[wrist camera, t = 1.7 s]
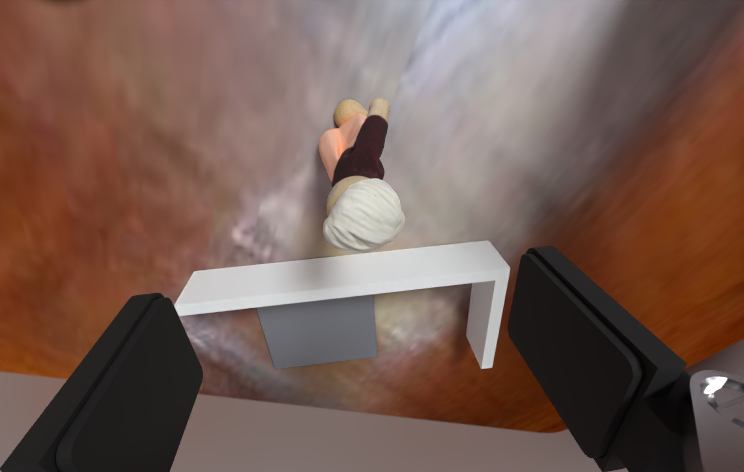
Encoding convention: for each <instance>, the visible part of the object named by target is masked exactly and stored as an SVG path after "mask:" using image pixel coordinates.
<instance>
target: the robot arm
mask: <svg viewBox="0 0 744 472" xmlns="http://www.w3.org/2000/svg"><path fill="white" fill-rule="evenodd" d="M508 332H509V336H510V338H511V340H512V341H513V343H514V344H515V346H516V348H517V349H518V351H519V352H520V354H521V355H522V357H523V359H524V360H525V362H526V363H527V365H528V366H529V368H530V370H531V371H532V373H533V374H534V376H535V377H536V379H537V381H538V382H539V384H540V385H541V387H542V388H543V390H544V392H545V393H546V395H547V396H548V398H549V399H550V401H551V402H552V404H553V406H554V407H555V409H556V410H557V412H558V413H559V415H560V417H561V418H562V420H563V421H564V423H565V424H566V426H567V428H568V429H569V431H570V432H571V434H572V435H573V437H574V439H575V440H576V442H577V443H578V445H579V446H580V448H581V449H582V451H583V452H584V453H585V454H586V455H587V456H588V457H590V458H593V459H594V460H595V462H596V463H597V465H598V466H599V468H600V469H601V471H602V472H607V471H613V470H618V469H623V468H627V470H628V471H629V472H744V378H741V377H738V376H736V375H733V374H729V373H725V372H720V371H710V370H705V371H701V372H697V373H695V374H694V375H693V376H692V377H691V376H690V375H689V374H688V373H687V372H686V371H685V370H684V368H685V366H686V364H687V363H686V362H684V361H683V360H682V359H681V358H680V357H679V356H678V355H676V354H675V353H674V352H673V351H672V350H671V349H670V348H668V347H667V346H666V345H665V344H664V343H663V342H662V341H660V340H659V339H658V338H657V337H656V336H655V335H654V334H652V333H651V332H650V331H649V330H648V329H647V328H646V327H645V326H643V325H642V324H641V323H640V322H639V321H638V320H637V319H635V318H634V317H633V316H632V315H631V314H630V313H629V312H627V311H626V310H625V309H624V308H623V307H622V306H621V305H619V304H618V303H617V302H616V301H615V300H614V299H613V298H611V297H610V296H609V295H608V294H607V293H606V292H605V291H603V290H602V289H601V288H600V287H599V286H598V285H597V284H595V283H594V282H593V281H592V280H591V279H590V278H589V277H587V276H586V275H585V274H584V273H583V272H582V271H581V270H579V269H578V268H577V267H576V266H575V265H574V264H573V263H572V262H570V261H569V260H568V259H567V258H566V257H565V256H564V255H562V254H561V253H560V252H559V251H558V250H557V249H556V248H554V247H552V246H545V247H537V248H530V249H528V251H527V252H526V254H524V255H522V257H521V260H520V265H519V270H518V276H517V281H516V286H515V291H514V296H513V302H512V307H511V312H510V317H509V322H508ZM202 379H203V371H202V367H201V365H200V363H199V360H198V358H197V356H196V354H195V352H194V349H193V347H192V345H191V343H190V341H189V338H188V336H187V334H186V332H185V330H184V327H183V325H182V323H181V321H180V319H179V316H178V314H177V312H176V310H175V308H174V305H173V303H172V301H171V300H170V299H169V298H167V297H166V298H164V296H163V295H162V294H161V293H151V294H143V295H135V296H132V297H131V298H130V299H129V300H128V302H127V303H126V304H125V305H124V307H123V308H122V309H121V311H120V312H119V313H118V315H117V316H116V317H115V319H114V320H113V321H112V322H111V324H110V325H109V326H108V328H107V329H106V330H105V332H104V333H103V334H102V336H101V337H100V338H99V339H98V341H97V342H96V343H95V345H94V346H93V347H92V349H91V350H90V351H89V353H88V354H87V355H86V356H85V358H84V359H83V360H82V362H81V363H80V364H79V366H78V367H77V368H76V370H75V371H74V372H73V373H72V375H71V376H70V377H69V379H68V380H67V381H66V383H65V384H64V385H63V387H62V388H61V389H60V390H59V392H58V393H57V394H56V396H55V397H54V398H53V400H52V401H51V402H50V404H49V405H48V406H47V407H46V409H45V410H44V412H43V413H42V414H41V415H40V417H39V418H38V419H37V421H36V422H35V423H34V424H33V426H32V427H31V428H30V430H29V431H28V432H27V434H26V435H25V436H24V438H23V439H22V440H21V442H20V443H19V444H18V446H17V447H16V448H15V449H14V451H13V452H12V453H11V455H10V456H9V457H8V459H7V460H6V461H5V463H4V464H3V465H2V466H1V468H0V470H1V471H2V472H170V469H171V466H172V464H173V461H174V458H175V455H176V453H177V450H178V447H179V444H180V441H181V439H182V436H183V433H184V430H185V427H186V425H187V422H188V419H189V416H190V414H191V411H192V408H193V405H194V403H195V400H196V397H197V394H198V392H199V389H200V386H201V383H202Z"/></svg>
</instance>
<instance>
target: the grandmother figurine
mask: <svg viewBox="0 0 744 472" xmlns="http://www.w3.org/2000/svg"><path fill="white" fill-rule="evenodd" d="M388 114H389V104H388V103H387V101H386V100H384V99H382V98H377V99H374V100H373V101H372V102H371V104H370V106H369V112H368V111H366V110H365V109H364V108H363V107H362V106H361V105H360V104H359V103H357V102H356V101H354V100H350V99H347V100H344V101H342V102H341V103H340V104H339V105H338V106H337V108H336V110H335V113H334V120H335V123H336V125H337V126H338V127H339V128H335V129H330V130H327V131H326V132H324V134H323V135H322V136H321V137H320V140H319V152H320V156H321V159H322V162H323V164H324V166H325V168H326V171H327V174H328V176H329V179H330V181H331V182H332V190H331V191H330V193H329V195H328V198H327V202H326V211H327V216H328V218H327V219H326V220H325V221H324V224H323V234H324V236H325V238H326V240H327V241H328V242H329V243H330V244H331V245H332V246H334V247H335V248H337V249H339V250H342V251H345V252H350V253H367V252H371V251H374V250H377V249H379V248H381V247H383V246H384V245H385V244H387V243H389V242H391V241H392V240H394V239H395V238H396V236H397V234H398V233H399V232H400V231H401V229H402V228H403V225H404V223H405V217H404V214H403V212H402V211H401V206H400V201H399V198H398V196H397V194H396V192H395V191H394V190H393V189H392V188H391V187H390V186H389V185H388V184H387V183H386V182H384V181H383V177H384V168H383V165H382V163H381V161H380V159H379V158H380V156H381V154H382V151H383V148H384V143H385V137H386V134H387V129H388V124H387V122H388Z"/></svg>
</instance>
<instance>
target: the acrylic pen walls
mask: <svg viewBox="0 0 744 472" xmlns="http://www.w3.org/2000/svg"><path fill="white" fill-rule="evenodd" d="M509 273H510V267H509V266H508V264H507V263H506V262H505V260H504V259H503V258H502V257H501V255H500V254H499V253H498V252H497V250H496V249H495V248H494V246H493V245H492V244H491V243H490V241H489V240H487V241H477V242H468V243H458V244H449V245H439V246H430V247H420V248H411V249H401V250H392V251H382V252H373V253H363V254H354V255H344V256H335V257H325V258H316V259H306V260H297V261H287V262H278V263H268V264H259V265H249V266H240V267H230V268H221V269H211V270H202V271H194V273H193V274H192V276H191V278H190V279H189V281H188V283H187V284H186V286H185V288H184V290H183V291H182V293H181V295H180V296H179V298H178V300H177V301H176V303H175V305H174V306H175V308H176V310H177V312H178V315H179V316H185V315H193V314H202V313H211V312H220V311H229V310H238V309H246V308H255V307H264V306H273V305H282V304H291V303H300V302H308V301H317V300H326V299H335V298H344V297H353V296H361V295H370V294H379V293H388V292H397V291H406V290H415V289H423V288H432V287H441V286H450V285H459V284H468V283H472V288H471V297H470V305H469V314H468V323H467V331H466V337H467V339H468V341H469V343H470V345H471V348H472V350H473V352H474V354H475V356H476V359H477V361H478V363H479V365H480V367H481V369H485V368H492V366H493V360H494V355H495V349H496V344H497V338H498V333H499V328H500V322H501V317H502V311H503V306H504V300H505V295H506V290H507V284H508V279H509Z"/></svg>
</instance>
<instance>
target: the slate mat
mask: <svg viewBox="0 0 744 472" xmlns="http://www.w3.org/2000/svg"><path fill="white" fill-rule="evenodd" d="M256 308H257V312H258V315H259V318H260V322H261V325H262V328H263V332H264V335H265V338H266V341H267V345H268V348H269V351H270V355H271V358H272V361H273V365H274V368H275V369H283V368H291V367H299V366H307V365H315V364H323V363H331V362H339V361H347V360H355V359H363V358H371V357H377V343H376V329H375V314H374V300H373V294H370V295H361V296H353V297H344V298H335V299H326V300H317V301H308V302H300V303H291V304H282V305H273V306H264V307H256Z"/></svg>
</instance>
